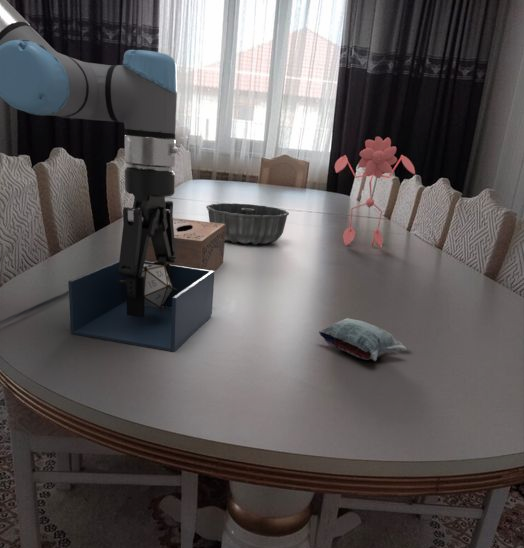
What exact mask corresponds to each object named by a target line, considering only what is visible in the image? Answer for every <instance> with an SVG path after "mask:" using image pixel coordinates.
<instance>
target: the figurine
mask: <svg viewBox="0 0 524 548" xmlns="http://www.w3.org/2000/svg"><path fill="white" fill-rule="evenodd" d="M391 145H392V140H391V138H390V137H386V138H385V139H384V140H383V138H382V137H381V136H375V138H374V140H373V139H366V140H365V141H364V146H365V148H364V149H362V150H361V151H360V152H359V157H361V158H360V160H359V162H358V167H359V168H365V174H360V175H356V174H355V173H356V172H355V171H354V169H353V167H352V165H351V163H350V162H349V160H348V157H347V155H346V154H343V156H340V157H339V158H338V159H337V160H336V161H335V163H334V170H335V173H336V174H338V173H340V172H341V171H343V170H344V169H345V168H346V167H347V165H348V167H349V169H350V171H351V173H352V175H353V177H354V178H355V179H357V178H362V177H370V179H369V183H368V184H369V185H368V186H369V197H370V198H367V199H366V201H365V203H362V204H359V205H357V206H354V207H351V209H350V225H349V227H346V229H345V230H344V231H343V234H342V240H343V244H344V247H346V246H348V245H350V243H352V242H353V241H354V239H355V236H356V232H355V229H354V227H352V224H353V210H354V209H357V208H360V207H362V206H367V207H369V208H370V207H373V206H374V207H375V208H376V209H377V210H379V211H380V215H379V220H378V224H377V228H375V229H374V230H373V234H372V235H373V239H372V241H371V245H370V246H371V247H373V246H374V245H375V244H376V245H377V246H378V247H379V248H380V249H382V247H383V242H384V241H383V240H384V239H383V235H382V233H381V232H380V230H379V229H380V224H381V219H382V214H383V210H381V208H379V207H378V206H377V204H375V199H373V198H372V196H373V195H372V181H373V178H374V177H375V178H376V179H381V178H384V179H385V178H386V179H390V177H391V176H392V175H393V173H394V172H395V170H396V168H397V167H398V165H399V164H400V162H402V165H403V167H404V168H405V169H406V170H407V171H409V172H410V173H411V174H412V175H414V176H415V175H416V170H415V166H414V164H413V162H412V161H411V160H410V159H409V158H408V157H407V156H405V155H403V154H401V155H400V157H399V159H398V158H397V157H396V156H395V155H396V153H397V147H396V146H391ZM393 165H394V167H393V168H392V166H393ZM383 174H389V175H383ZM356 251H357V252H361V250H358V249H356ZM363 252H364V253H369V250H363ZM394 252H395V250H393V251H392V253H394ZM371 253H372V254H373V253H377V254H379V253H380V254H388V253H391V251H380V252H379V251H371Z"/></svg>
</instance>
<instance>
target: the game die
mask: <svg viewBox="0 0 524 548" xmlns="http://www.w3.org/2000/svg"><path fill="white" fill-rule="evenodd" d="M167 265H168V262H165V263H164V265H155V264H145V263H144V267H143V271H142V276H143V277H145V306H146V307H156V308H160V311H161V312H163V308H161V307H162V305H163V304H164V302H165V301H166V299H167V298H168V296H169V294H170V293H171V291H172V290H175V291H176V290H178V289H176V288H173V287H172V284H171V281H170V279H169V276H168V273H167V270H166V267H165V266H167ZM120 282H121V283H125V284H126V281H124V280H121V281H120Z"/></svg>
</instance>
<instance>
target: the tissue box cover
mask: <svg viewBox="0 0 524 548" xmlns="http://www.w3.org/2000/svg"><path fill="white" fill-rule="evenodd" d="M173 227H174V240H175V253H176V254H175V256H174V257H176V261H175V263H171V262H169V263H170V265H176V266H183V267H190V268H196V269H203V270H210V271H214V273H215V272H216V271H217V270H218V269H219V268H220V267H221V266H222V265H223V263H224V254H225V241H226V240H225V227H226V224H221V223H212V222H209V221H203V220H193V219H185V218H177V217H173ZM172 257H173V256H172ZM145 261H149V262H155V261H156V262H159V261H157V260H156V256H155V252H154V248H153V244H152V239H151V237H150V239H149V244H148V248H147V253H146V258H145Z"/></svg>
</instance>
